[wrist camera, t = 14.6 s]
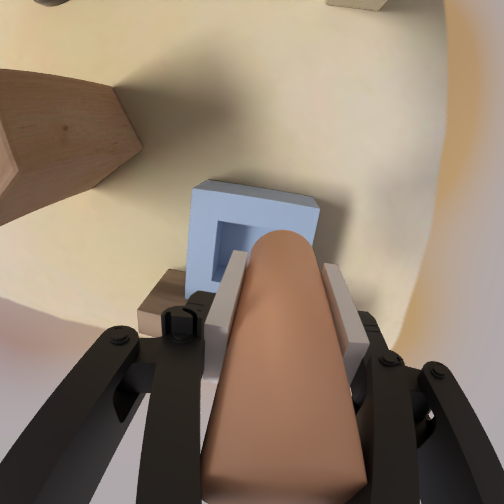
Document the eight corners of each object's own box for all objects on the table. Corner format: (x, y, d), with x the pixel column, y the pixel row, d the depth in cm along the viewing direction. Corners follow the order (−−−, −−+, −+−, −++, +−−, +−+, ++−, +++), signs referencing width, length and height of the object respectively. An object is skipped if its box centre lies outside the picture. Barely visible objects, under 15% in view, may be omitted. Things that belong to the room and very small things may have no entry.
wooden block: (145, 148, 32) (19, 171, 13) (90, 190, 34) (-28, 242, 15) (112, 85, 29) (-13, 65, 10) (61, 131, 31) (-58, 148, 13)
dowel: (253, 225, 17) (188, 452, 4) (320, 235, 17) (399, 460, 4) (245, 285, 19) (195, 509, 6) (307, 294, 19) (333, 518, 5)
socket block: (207, 179, 32) (192, 188, 27) (312, 196, 32) (320, 208, 27) (198, 274, 37) (184, 298, 31) (292, 290, 37) (294, 317, 31)
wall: (168, 269, 37) (137, 309, 28) (322, 295, 37) (334, 344, 27) (168, 289, 38) (138, 332, 29) (317, 314, 38) (326, 366, 28)
